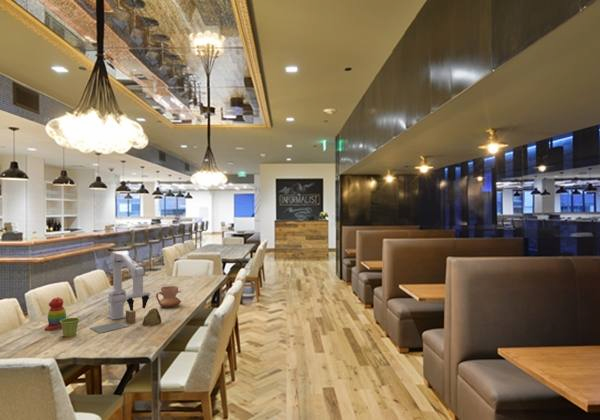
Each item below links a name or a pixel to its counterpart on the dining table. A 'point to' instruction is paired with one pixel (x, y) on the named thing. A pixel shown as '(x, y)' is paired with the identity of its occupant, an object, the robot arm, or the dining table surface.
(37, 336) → the dining table surface
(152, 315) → the rock
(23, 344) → the dining table surface
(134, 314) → the walnut block
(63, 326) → the plant pot
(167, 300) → the ceramic jug
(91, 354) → the dining table surface
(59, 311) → the stacking bear
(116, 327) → the rubber mat
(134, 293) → the robot arm
